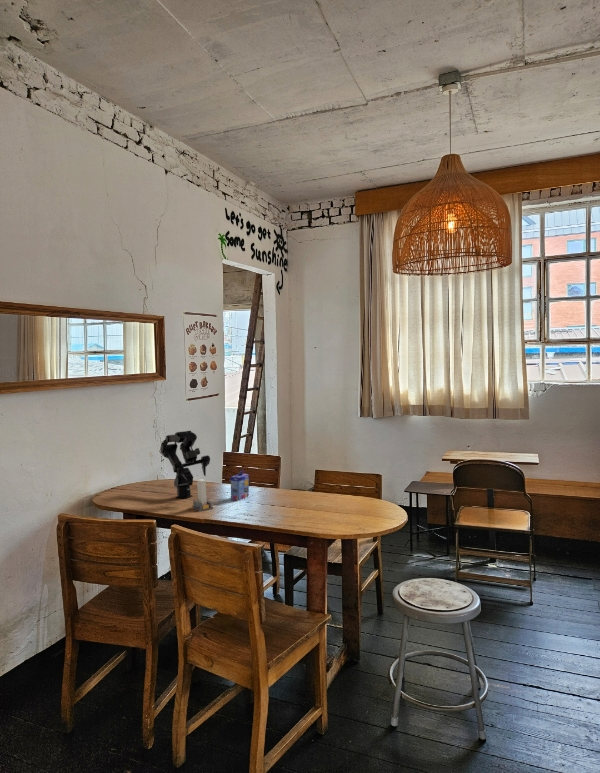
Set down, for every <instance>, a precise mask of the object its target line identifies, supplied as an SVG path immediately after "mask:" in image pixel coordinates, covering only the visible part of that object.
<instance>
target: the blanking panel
mask: <svg viewBox="0 0 600 773" xmlns="http://www.w3.org/2000/svg"><path fill="white" fill-rule="evenodd" d="M196 484H197V486H196V487H197V502H199V503H201V504H202V505H207V500H208V498H207V481H206V480H205V479H203V478H200V479H196Z"/></svg>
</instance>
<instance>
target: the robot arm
mask: <svg viewBox="0 0 600 773" xmlns="http://www.w3.org/2000/svg"><path fill="white" fill-rule="evenodd" d="M197 438H198V436H197V434H196V433H195V432H192V430H185V431H177V432H175V433H174V434H167V435H166V436H165V439H164V440H163V441H162V442H161V444H160V450H159V451H160V453H161V455H162V456H163V457H164V458H166V459H167V460H168V461H169V463H170V465H171V467H172V470H173V473H175V474H176V475H175V478H174V481H173V485H174V487H175V488H176V489H177V490H176V491H177V492H176V493H177V494H176V496H175V497H176V498H175V499H181V498H182V499H183V500H185V499H187V498H190V497H193V495H191V494H192V493H191V488H190V487H191V486H193V482H194V476H193V475H194V474H192V472H191V470H190V468H189V467H191V466H195V465H201V469H202V474H203V476H204V477H206V473H207V467H208V465H210V462H211V457H210V456H209V455H208V454H207V455H202V456H201V457H200V459H198V455H200V454H201V450H200V448H199V447H196V448H194V449H193V447H194V445H195V443H196V441H197ZM179 443H180V446H179V450H180V451H181V454H182V457H183V460H184V462H183V463H182V461H181V460H180V458H179V457H178V455H177V450H178V444H179ZM182 499H181V500H182Z"/></svg>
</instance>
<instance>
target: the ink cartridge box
mask: <svg viewBox="0 0 600 773" xmlns="http://www.w3.org/2000/svg"><path fill="white" fill-rule="evenodd" d="M244 472H245V470H240V471H239V472H238V474H235V475H232V476H230V500H231V499H232V500H233V501H237V500H239V501H241V499H242V500H244V499H246V498H245V497H247V498H249V497H248V496H250V492H249V491H250V488H249V487H250V486H249V484H250V483H249V482H250V478H249V475H250V474H248V473H244ZM243 498H244V499H243Z"/></svg>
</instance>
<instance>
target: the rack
mask: <svg viewBox="0 0 600 773" xmlns="http://www.w3.org/2000/svg"><path fill="white" fill-rule="evenodd" d="M192 502H193V505H192V508H193V509H194V510H197V511H198V512H203V511H209V510H213V509H214V508H213V504H212V501H210V500H208V499H207V505H202V504H201V503H199V502H198V500H196V499H194V500H193V501H192Z"/></svg>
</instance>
